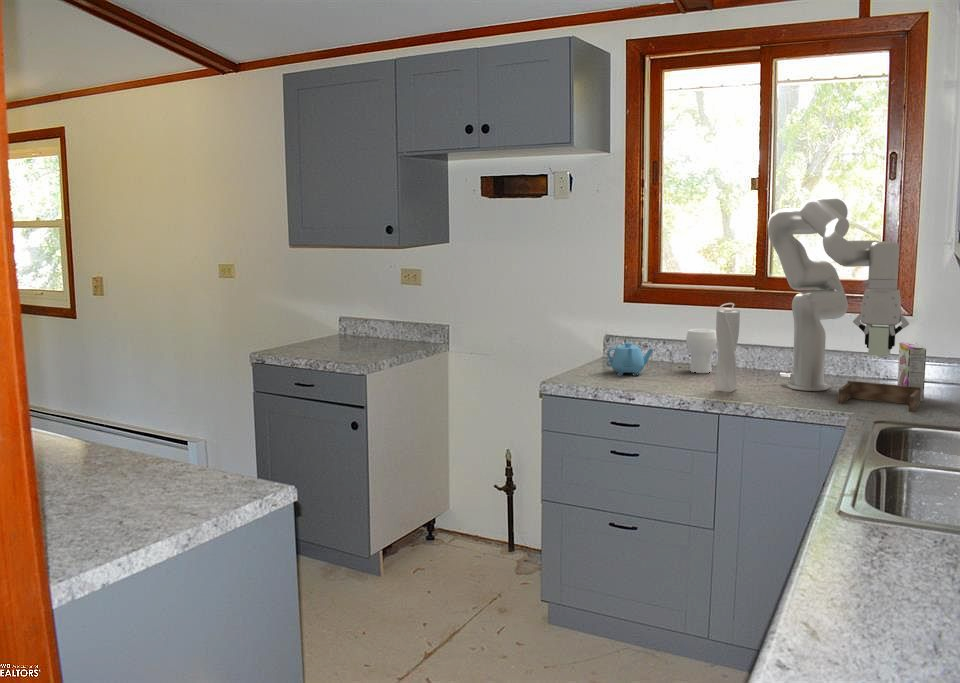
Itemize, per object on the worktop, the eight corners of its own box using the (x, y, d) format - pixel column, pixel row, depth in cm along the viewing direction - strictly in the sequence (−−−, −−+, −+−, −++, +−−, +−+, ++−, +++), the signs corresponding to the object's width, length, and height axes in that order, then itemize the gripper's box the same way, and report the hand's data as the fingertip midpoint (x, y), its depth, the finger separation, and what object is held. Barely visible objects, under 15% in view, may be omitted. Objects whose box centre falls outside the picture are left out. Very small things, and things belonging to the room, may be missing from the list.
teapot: (657, 374, 302) (658, 343, 301) (629, 379, 294) (630, 346, 293) (627, 368, 315) (627, 338, 313) (599, 372, 307) (599, 342, 305)
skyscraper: (719, 386, 279) (721, 302, 275) (741, 388, 275) (744, 303, 271) (710, 390, 273) (712, 304, 269) (733, 393, 268) (736, 305, 264)
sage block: (868, 354, 243) (869, 327, 242) (871, 352, 248) (872, 325, 246) (887, 356, 241) (888, 328, 240) (890, 353, 245) (891, 326, 244)
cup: (679, 371, 307) (680, 330, 305) (696, 367, 314) (697, 327, 312) (705, 375, 299) (706, 333, 297) (721, 371, 306) (722, 330, 304)
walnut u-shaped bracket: (838, 404, 251) (838, 387, 250) (847, 396, 261) (848, 380, 260) (912, 412, 240) (913, 394, 239) (919, 404, 249) (920, 387, 248)
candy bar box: (895, 394, 264) (898, 342, 261) (912, 394, 263) (916, 342, 260) (905, 401, 253) (909, 347, 251) (924, 402, 252) (927, 347, 250)
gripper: (847, 285, 243) (845, 347, 246) (913, 286, 233) (910, 352, 236) (853, 283, 249) (850, 344, 252) (917, 285, 240) (914, 348, 242)
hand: (879, 347), depth 244 cm, fingers closed on sage block, 5 cm apart
